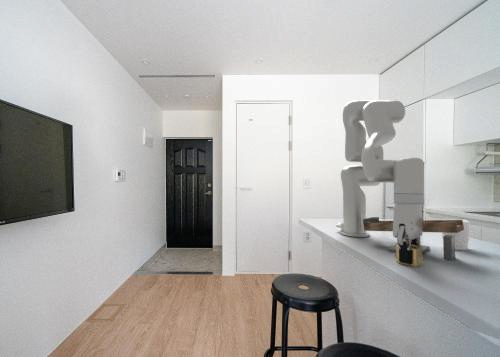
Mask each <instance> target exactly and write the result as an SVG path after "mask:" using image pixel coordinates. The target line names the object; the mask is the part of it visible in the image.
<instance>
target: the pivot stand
mask: <svg viewBox="0 0 500 357" xmlns="http://www.w3.org/2000/svg"><path fill="white" fill-rule="evenodd" d="M404 238H406V239H407V237H405V236H404ZM396 242H397V241H396ZM405 242H406V243H407V244H408V241H405ZM419 243H420V246H422V254H424V253H426V252H427V251H429V250H430V249H431V247H430V246H429V245H425V244H424V245H423V244H421V236H420V237H419ZM397 245H399V244H398V242H397V244H396V245H394V246H391V247H388V248H387V249H388V252H390V253H391V252H392V253H395V254H396V246H397Z"/></svg>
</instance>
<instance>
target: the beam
mask: <svg viewBox="0 0 500 357" xmlns="http://www.w3.org/2000/svg"><path fill="white" fill-rule="evenodd" d="M462 220H463V219H459V220H441V219H438V220H437V219H436V220H435V219H433V220H432V219H431V220H430V219H429V220H426V219H425V220H423V219H422V222H423V232H422V233H442V232H443V233H458V232H460V231H462V230H464V226H463V221H462ZM363 225H364V231H367V232H393V220H380V217H379V216H372V217H366V219H363Z"/></svg>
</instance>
